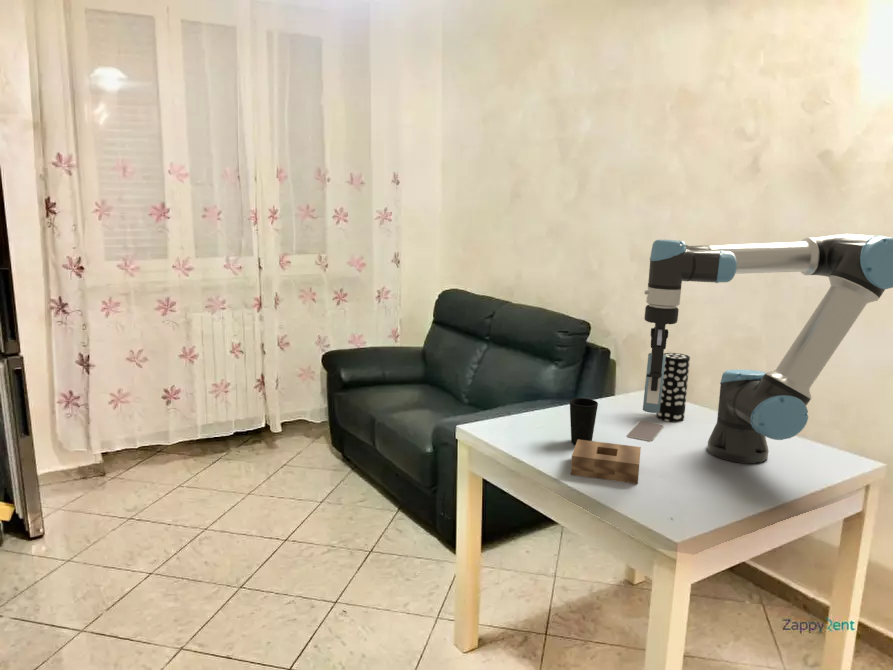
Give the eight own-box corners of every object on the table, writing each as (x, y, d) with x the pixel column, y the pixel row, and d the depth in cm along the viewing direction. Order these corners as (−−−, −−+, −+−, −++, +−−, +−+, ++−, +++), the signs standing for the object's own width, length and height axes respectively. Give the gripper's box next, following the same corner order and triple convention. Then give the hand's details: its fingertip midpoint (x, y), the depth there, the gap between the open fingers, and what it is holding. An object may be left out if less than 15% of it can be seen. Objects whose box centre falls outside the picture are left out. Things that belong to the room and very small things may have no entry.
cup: (595, 449, 181) (598, 407, 179) (567, 446, 183) (569, 405, 180) (595, 439, 189) (597, 399, 186) (567, 437, 190) (570, 397, 188)
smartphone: (626, 435, 191) (640, 420, 204) (625, 438, 191) (639, 423, 204) (652, 440, 187) (664, 425, 200) (651, 443, 188) (664, 427, 200)
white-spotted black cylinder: (686, 416, 210) (692, 355, 206) (680, 424, 203) (686, 360, 199) (660, 411, 214) (665, 351, 210) (653, 418, 207) (658, 356, 203)
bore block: (639, 465, 171) (640, 447, 170) (637, 484, 159) (639, 464, 158) (576, 457, 175) (577, 439, 174) (570, 474, 164) (571, 455, 163)
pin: (659, 409, 163) (665, 353, 161) (659, 413, 160) (665, 357, 157) (642, 407, 165) (648, 352, 162) (642, 411, 161) (648, 355, 158)
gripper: (646, 299, 166) (637, 389, 171) (645, 309, 150) (635, 408, 155) (677, 302, 164) (667, 392, 169) (680, 312, 148) (669, 412, 153)
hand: (652, 400), depth 162 cm, fingers closed on pin, 4 cm apart
